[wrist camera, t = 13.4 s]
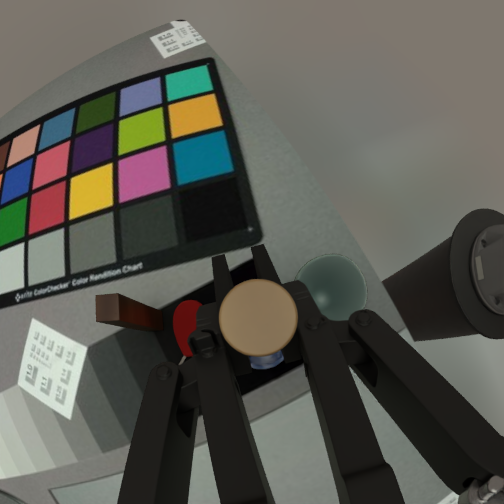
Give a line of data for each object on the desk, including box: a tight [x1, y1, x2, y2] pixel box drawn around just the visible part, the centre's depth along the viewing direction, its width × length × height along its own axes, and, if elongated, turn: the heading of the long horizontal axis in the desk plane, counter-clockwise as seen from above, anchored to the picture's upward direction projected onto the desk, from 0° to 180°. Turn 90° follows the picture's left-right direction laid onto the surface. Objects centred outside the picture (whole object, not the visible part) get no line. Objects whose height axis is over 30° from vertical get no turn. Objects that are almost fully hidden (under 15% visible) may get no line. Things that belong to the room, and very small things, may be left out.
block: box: [96, 293, 163, 331], centre depth 34 cm, size 3×3×14 cm
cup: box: [294, 254, 368, 321], centre depth 36 cm, size 8×8×10 cm
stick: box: [219, 279, 298, 357], centre depth 16 cm, size 2×2×20 cm
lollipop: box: [173, 300, 202, 365], centre depth 39 cm, size 8×1×15 cm
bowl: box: [249, 350, 284, 369], centre depth 37 cm, size 6×6×5 cm
